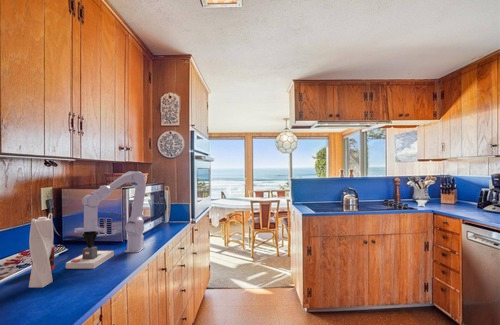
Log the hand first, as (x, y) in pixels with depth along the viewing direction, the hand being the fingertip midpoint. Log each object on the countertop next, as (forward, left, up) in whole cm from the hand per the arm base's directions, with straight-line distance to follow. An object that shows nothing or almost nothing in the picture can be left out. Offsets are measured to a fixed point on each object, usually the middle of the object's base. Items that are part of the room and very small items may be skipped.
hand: (90, 247), depth 132 cm
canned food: (+11, -15, -8) cm, 20 cm away
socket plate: (-1, 0, -7) cm, 7 cm away
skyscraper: (+25, -5, -8) cm, 26 cm away
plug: (0, 0, -6) cm, 6 cm away
